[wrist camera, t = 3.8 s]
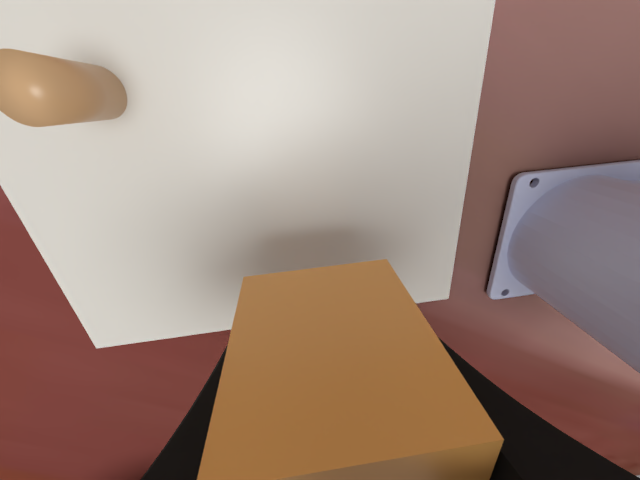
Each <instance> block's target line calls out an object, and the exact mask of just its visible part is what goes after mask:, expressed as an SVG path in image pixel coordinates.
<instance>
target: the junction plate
mask: <svg viewBox="0 0 640 480" xmlns="http://www.w3.org/2000/svg"><path fill="white" fill-rule="evenodd" d="M494 6H495V0H0V185H1V187H2V189H3V190H4V192H5V194H6V195H7V197H8V199H9V200H10V202H11V204H12V206H13V207H14V209H15V211H16V212H17V214H18V216H19V217H20V219H21V221H22V223H23V224H24V226H25V228H26V229H27V231H28V233H29V234H30V236H31V238H32V240H33V241H34V243H35V245H36V246H37V248H38V250H39V252H40V253H41V255H42V257H43V258H44V260H45V262H46V263H47V265H48V267H49V269H50V270H51V272H52V274H53V275H54V277H55V279H56V280H57V282H58V284H59V286H60V287H61V289H62V291H63V292H64V294H65V296H66V298H67V299H68V301H69V303H70V304H71V306H72V308H73V309H74V311H75V313H76V315H77V316H78V318H79V320H80V321H81V323H82V325H83V326H84V328H85V330H86V332H87V333H88V335H89V337H90V338H91V340H92V342H93V343H94V345H95V347H96V348H103V347H110V346H117V345H124V344H131V343H138V342H145V341H153V340H160V339H167V338H174V337H181V336H188V335H195V334H202V333H209V332H216V331H223V330H230V329H232V325H233V320H234V316H235V312H236V307H237V303H238V299H239V294H240V290H241V286H242V281H243V277H246V276H254V275H262V274H270V273H278V272H286V271H294V270H302V269H310V268H318V267H326V266H334V265H342V264H350V263H358V262H366V261H374V260H382V259H387V260H388V262H389V263H390V265H391V266H392V268H393V269H394V271H395V273H396V274H397V276H398V277H399V279H400V280H401V282H402V283H403V285H404V286H405V288H406V289H407V291H408V293H409V294H410V296H411V297H412V299H413V300H414V302H415V303H422V302H429V301H436V300H443V299H449V292H450V286H451V280H452V273H453V267H454V261H455V254H456V248H457V242H458V235H459V229H460V223H461V216H462V210H463V203H464V197H465V191H466V184H467V178H468V172H469V165H470V159H471V153H472V146H473V140H474V134H475V127H476V121H477V115H478V108H479V102H480V95H481V89H482V83H483V76H484V70H485V64H486V57H487V51H488V45H489V38H490V32H491V26H492V19H493V13H494Z"/></svg>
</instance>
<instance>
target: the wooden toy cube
mask: <svg viewBox="0 0 640 480" xmlns="http://www.w3.org/2000/svg"><path fill="white" fill-rule="evenodd" d="M503 441H504V439H503V437H502V436H501V434H500V432H499V431H498V429H497V428H496V426H495V425H494V423H493V422H492V420H491V419H490V417H489V416H488V414H487V413H486V411H485V409H484V408H483V406H482V405H481V403H480V402H479V400H478V399H477V397H476V396H475V394H474V393H473V391H472V389H471V388H470V386H469V385H468V383H467V382H466V380H465V379H464V377H463V376H462V374H461V373H460V371H459V369H458V368H457V366H456V365H455V363H454V362H453V360H452V359H451V357H450V356H449V354H448V353H447V351H446V349H445V348H444V346H443V345H442V343H441V342H440V340H439V339H438V337H437V336H436V334H435V333H434V331H433V329H432V328H431V326H430V325H429V323H428V322H427V320H426V319H425V317H424V316H423V314H422V313H421V311H420V309H419V308H418V306H417V305H416V303H415V302H414V300H413V299H412V297H411V296H410V294H409V293H408V291H407V289H406V288H405V286H404V285H403V283H402V282H401V280H400V279H399V277H398V276H397V274H396V273H395V271H394V269H393V268H392V266H391V265H390V263H389V262H388V260H387V259H382V260H374V261H366V262H358V263H350V264H342V265H334V266H326V267H318V268H310V269H302V270H294V271H286V272H278V273H270V274H262V275H254V276H246V277H243V281H242V286H241V290H240V294H239V299H238V303H237V307H236V312H235V316H234V320H233V325H232V329H231V333H230V338H229V342H228V346H227V351H226V355H225V359H224V364H223V368H222V373H221V377H220V381H219V386H218V390H217V394H216V399H215V403H214V407H213V412H212V416H211V420H210V425H209V429H208V433H207V438H206V442H205V446H204V451H203V455H202V460H201V464H200V468H199V473H198V477H197V480H489V479H490V477H491V474H492V471H493V469H494V466H495V463H496V460H497V458H498V455H499V452H500V449H501V447H502V444H503Z"/></svg>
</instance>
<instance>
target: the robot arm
mask: <svg viewBox="0 0 640 480" xmlns="http://www.w3.org/2000/svg"><path fill="white" fill-rule="evenodd" d="M532 179H533V182H532V183H531V184H530V181H531V180H532ZM531 294H536V295H538V296H539V297H540V298H541V299H543V300H544V301H545V302H547V303H548V304H549V305H551V306H552V307H553V308H555V309H556V310H557V311H559V312H560V313H561V314H562V315H564V316H565V317H566V318H568V319H569V320H570V321H572V322H573V323H574V324H576V325H577V326H578V327H580V328H581V329H582V330H584V331H585V332H586V333H587V334H589V335H590V336H591V337H593V338H594V339H595V340H597V341H598V342H599V343H601V344H602V345H603V346H605V347H606V348H607V349H608V350H610V351H611V352H612V353H614V354H615V355H616V356H618V357H619V358H620V359H622V360H623V361H624V362H626V363H627V364H628V365H630V366H631V367H632V368H633V369H635V370H636V371H637V372H639V373H640V160H633V161H624V162H615V163H605V164H596V165H587V166H578V167H569V168H560V169H551V170H541V171H532V172H523V173H519V174H518V175H516V176H515V177H514V179H513V180H512V183H511V187H510V191H509V196H508V200H507V204H506V209H505V213H504V217H503V222H502V226H501V231H500V235H499V239H498V244H497V248H496V252H495V257H494V261H493V266H492V270H491V274H490V279H489V283H488V287H487V295H488V296H489V297H490V298H491V299H495V300H496V299H503V298H510V297H517V296H524V295H531ZM438 339H439V338H438ZM439 340H440V342H441V343H442V345H443V346H444V348H445V349H446V351H447V353H448V354H449V356H450V357H451V359H452V360H453V362H454V363H455V365H456V366H457V368H458V369H459V371H460V373H461V374H462V376H463V377H464V379H465V380H466V382H467V383H468V385H469V386H470V388H471V389H472V391H473V393H474V394H475V396H476V397H477V399H478V400H479V402H480V403H481V405H482V406H483V408H484V409H485V411H486V413H487V414H488V416H489V417H490V419H491V420H492V422H493V423H494V425H495V426H496V428H497V429H498V431H499V432H500V434H501V436H502V437H503V439H504V441H503V444H502V447H501V449H500V452H499V455H498V458H497V460H496V463H495V466H494V469H493V471H492V474H491V477H490V479H489V480H640V478H638V477H636V476H635V475H633V474H631V473H630V472H628V471H626V470H624V469H623V468H621V467H619V466H617V465H616V464H614V463H612V462H611V461H609V460H607V459H606V458H604V457H602V456H601V455H599V454H597V453H596V452H594V451H593V450H591V449H589V448H588V447H586V446H584V445H583V444H581V443H579V442H578V441H576V440H574V439H573V438H571V437H570V436H568V435H566V434H565V433H563V432H562V431H560V430H559V429H557V428H556V427H554V426H552V425H551V424H549V423H548V422H547V421H545V420H544V419H542V418H541V417H539V416H538V415H536V414H535V413H533V412H532V411H530V410H529V409H527V408H526V407H525V406H523V405H522V404H520V403H519V402H517V401H516V400H515V399H513V398H512V397H511V396H509V395H508V394H507V393H505V392H504V391H503V390H501V389H500V388H499V387H497V386H496V385H495V384H493V383H492V382H491V381H490V380H488V379H487V378H486V377H484V376H483V375H482V374H481V373H479V372H478V371H477V370H476V369H475V368H473V367H472V366H471V365H470V364H469V363H467V362H466V361H465V360H464V359H463V358H461V357H460V356H459V355H458V354H457V353H455V352H454V351H453V350H452V349H451V348H450V347H448V346H447V345H446V344H445V343H444V342H443V341H442V340H441V339H439ZM226 351H227V347H226V349H225V350H224V352H223V354H222V356H221V358H220V360H219V361H218V363H217V365H216V367H215V369H214V370H213V372H212V374H211V376H210V377H209V379H208V381H207V382H206V384H205V386H204V387H203V389H202V391H201V392H200V394H199V396H198V397H197V399H196V400H195V402H194V404H193V405H192V407H191V408H190V410H189V412H188V413H187V415H186V416H185V418H184V419H183V421H182V422H181V424H180V425H179V427H178V428H177V430H176V431H175V433H174V434H173V435H172V437H171V438H170V440H169V441H168V443H167V444H166V446H165V447H164V449H163V450H162V451H161V453H160V454H159V456H158V457H157V458H156V460H155V461H154V462H153V464H152V465H151V467H150V468H149V469H148V471H147V472H146V473H145V474H144V476H143V477H142V478H141V480H197V477H198V473H199V468H200V464H201V460H202V455H203V451H204V446H205V442H206V438H207V433H208V429H209V425H210V420H211V416H212V412H213V407H214V403H215V399H216V394H217V390H218V386H219V381H220V377H221V373H222V368H223V364H224V359H225V355H226Z"/></svg>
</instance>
